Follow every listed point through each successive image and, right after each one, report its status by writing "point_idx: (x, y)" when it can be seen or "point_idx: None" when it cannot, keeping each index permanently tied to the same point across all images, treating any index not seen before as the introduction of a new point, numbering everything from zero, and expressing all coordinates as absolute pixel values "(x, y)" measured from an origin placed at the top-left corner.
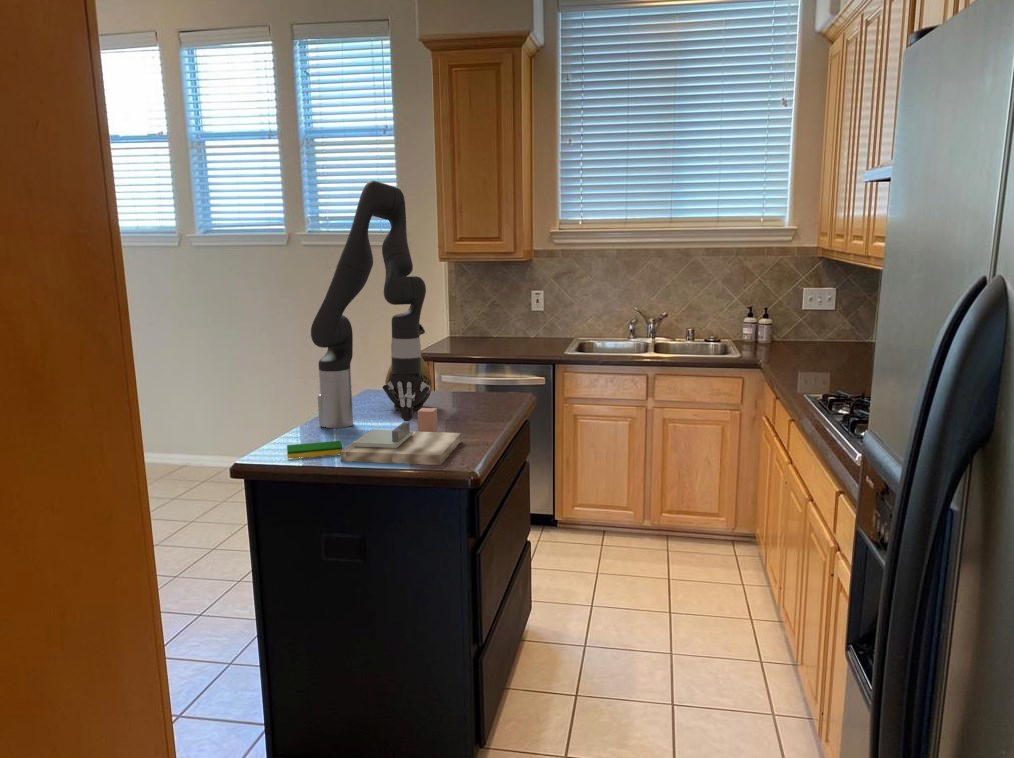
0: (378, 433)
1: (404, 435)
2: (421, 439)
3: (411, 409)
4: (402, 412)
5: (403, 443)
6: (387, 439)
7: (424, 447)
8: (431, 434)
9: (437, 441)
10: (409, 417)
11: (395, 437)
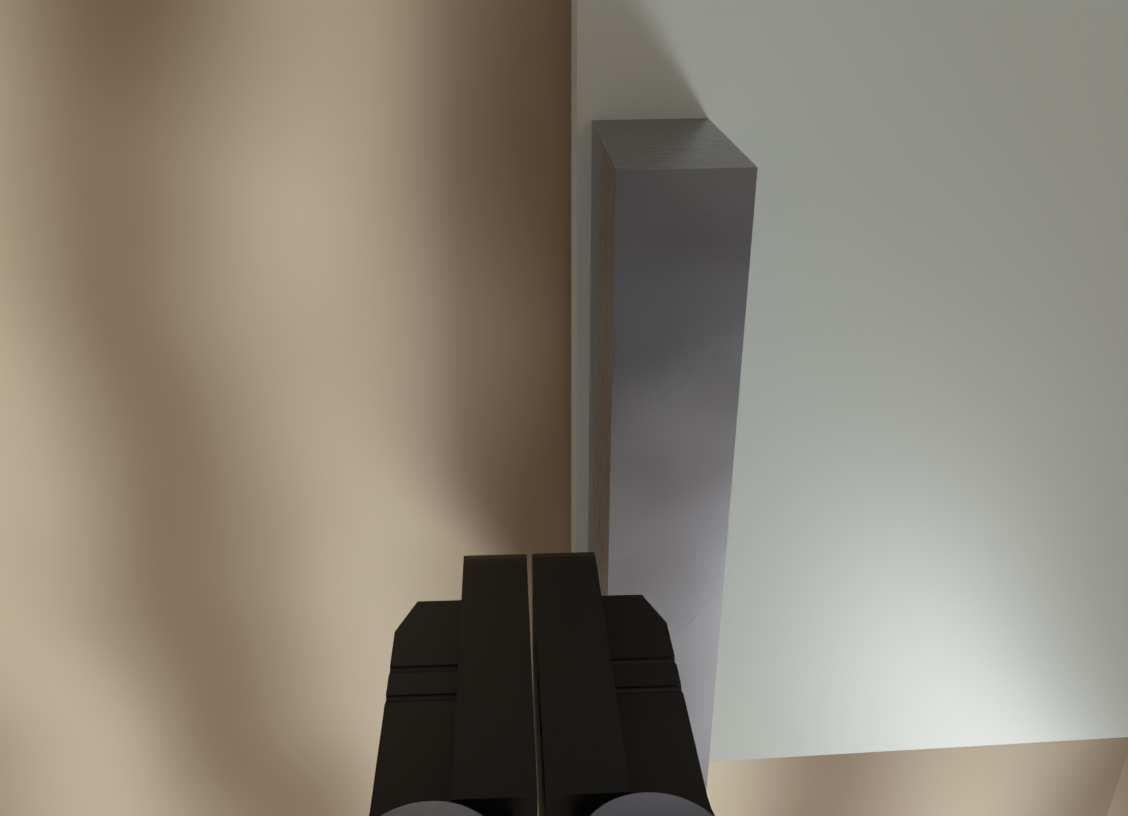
0: (1044, 565)
1: (591, 471)
2: (369, 559)
3: (378, 789)
4: (650, 703)
5: (566, 318)
6: (834, 258)
7: (117, 138)
8: (331, 785)
9: (79, 502)
10: (456, 625)
11: (657, 136)
